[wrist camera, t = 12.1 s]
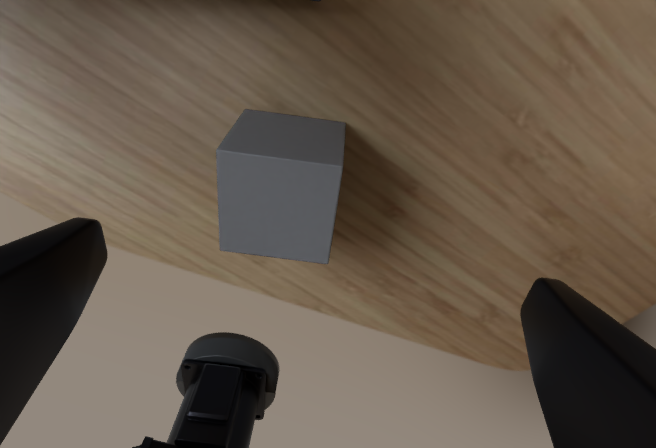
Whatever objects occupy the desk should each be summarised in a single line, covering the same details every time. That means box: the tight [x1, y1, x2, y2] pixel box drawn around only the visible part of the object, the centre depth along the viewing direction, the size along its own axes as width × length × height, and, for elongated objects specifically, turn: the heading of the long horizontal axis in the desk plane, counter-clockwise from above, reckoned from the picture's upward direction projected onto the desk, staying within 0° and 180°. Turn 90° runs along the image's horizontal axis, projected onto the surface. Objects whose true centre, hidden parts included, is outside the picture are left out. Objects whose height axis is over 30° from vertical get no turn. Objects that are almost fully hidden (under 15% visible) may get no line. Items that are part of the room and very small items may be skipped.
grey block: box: [216, 109, 346, 264], centre depth 19 cm, size 5×5×5 cm
